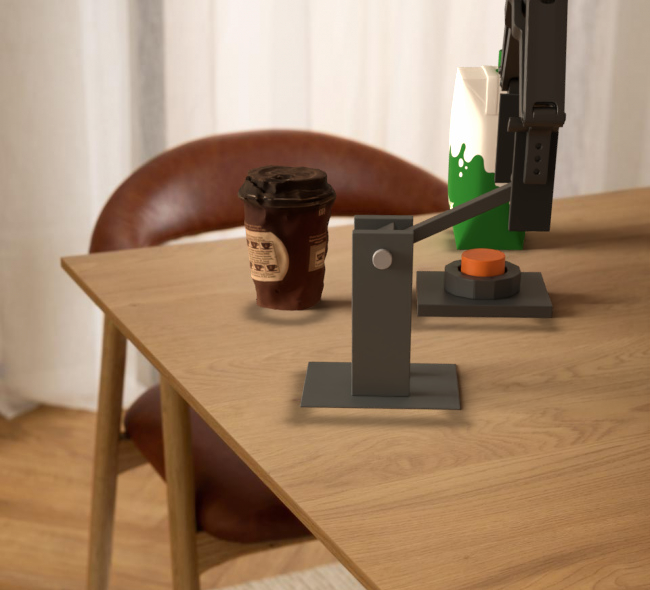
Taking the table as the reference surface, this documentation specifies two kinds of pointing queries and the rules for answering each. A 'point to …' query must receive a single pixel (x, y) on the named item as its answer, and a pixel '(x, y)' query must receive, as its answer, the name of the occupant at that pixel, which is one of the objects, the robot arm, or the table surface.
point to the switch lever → (458, 213)
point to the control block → (482, 294)
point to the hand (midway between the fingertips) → (519, 205)
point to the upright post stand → (381, 332)
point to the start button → (483, 262)
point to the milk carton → (477, 159)
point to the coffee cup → (287, 234)
